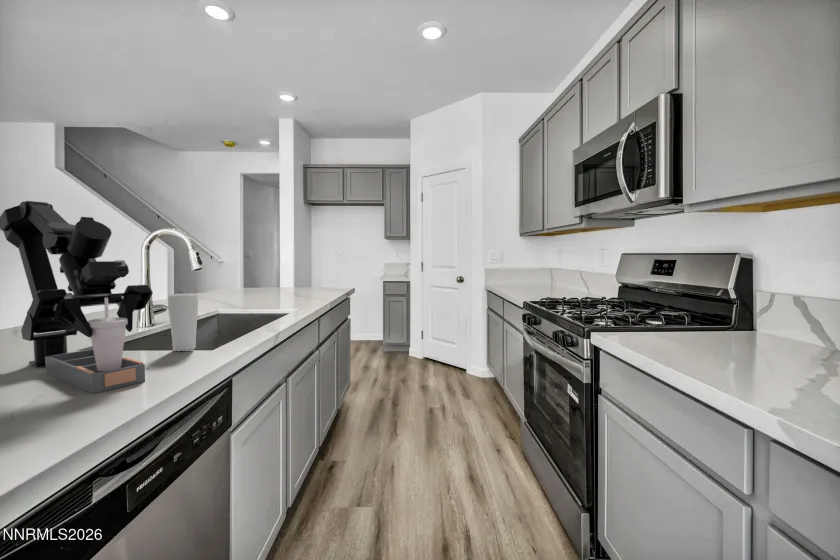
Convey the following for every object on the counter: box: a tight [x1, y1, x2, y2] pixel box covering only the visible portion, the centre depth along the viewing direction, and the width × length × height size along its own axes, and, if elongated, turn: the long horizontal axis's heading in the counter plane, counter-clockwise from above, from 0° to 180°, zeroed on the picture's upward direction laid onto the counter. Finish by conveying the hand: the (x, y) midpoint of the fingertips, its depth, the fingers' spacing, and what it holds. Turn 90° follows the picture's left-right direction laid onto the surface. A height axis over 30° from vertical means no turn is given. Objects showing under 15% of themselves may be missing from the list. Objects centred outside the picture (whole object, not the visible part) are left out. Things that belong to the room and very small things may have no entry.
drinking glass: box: [167, 292, 199, 353], centre depth 107 cm, size 7×7×15 cm
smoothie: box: [87, 298, 128, 371], centre depth 78 cm, size 6×6×14 cm
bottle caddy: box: [45, 348, 146, 394], centre depth 83 cm, size 25×9×4 cm, turn 58°
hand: (111, 333), depth 78 cm, fingers closed on smoothie, 6 cm apart
